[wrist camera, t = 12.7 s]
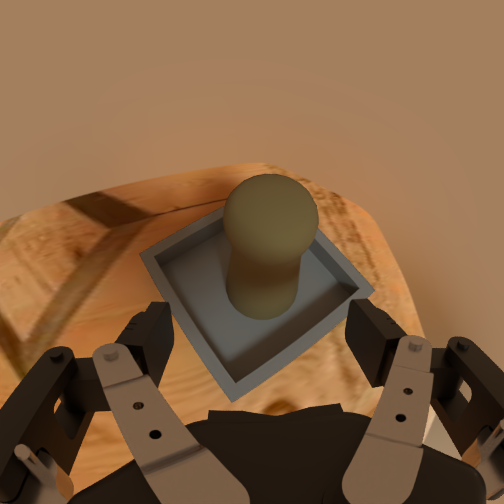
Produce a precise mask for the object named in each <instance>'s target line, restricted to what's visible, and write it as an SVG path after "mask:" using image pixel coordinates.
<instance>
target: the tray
mask: <svg viewBox="0 0 504 504" xmlns="http://www.w3.org/2000/svg"><path fill="white" fill-rule="evenodd" d="M224 207H225V206H223V207H221V208H219V209H217V210H215V211H213V212H212V213H210V214H208V215H206V216H204V217H202V218H201V219H199V220H197V221H195V222H193V223H192V224H190V225H188V226H186V227H184V228H183V229H181V230H179V231H177V232H176V233H174V234H172V235H170V236H169V237H167V238H165V239H163V240H162V241H160V242H158V243H157V244H155V245H153V246H151V247H150V248H148V249H146V250H145V251H143V252H141V253H140V254H139V255H140V256H141V258H142V260H143V262H144V264H145V266H146V268H147V270H148V272H149V273H150V275H151V277H152V279H153V281H154V283H155V284H156V286H157V288H158V290H159V292H160V293H161V295H162V297H163V299H164V300H165V302H169V304H170V308H171V312H172V314H173V316H174V317H175V319H176V321H177V322H178V324H179V325H180V327H181V329H182V330H183V332H184V334H185V335H186V337H187V338H188V340H189V341H190V343H191V345H192V346H193V348H194V349H195V351H196V352H197V354H198V355H199V357H200V358H201V360H202V361H203V363H204V364H205V366H206V367H207V369H208V370H209V371H210V373H211V374H212V376H213V377H214V379H215V380H216V381H217V383H218V384H219V386H220V387H221V388H222V390H223V391H224V393H225V394H226V395H227V397H228V398H229V399H230V401H231V402H234V401H236V400H237V399H239V398H241V397H242V396H244V395H245V394H247V393H248V392H250V391H251V390H253V389H254V388H256V387H257V386H258V385H260V384H261V383H263V382H264V381H266V380H267V379H268V378H270V377H271V376H273V375H274V374H275V373H277V372H278V371H280V370H281V369H282V368H284V367H285V366H286V365H288V364H289V363H290V362H292V361H293V360H294V359H296V358H297V357H298V356H300V355H301V354H302V353H304V352H305V351H306V350H307V349H309V348H310V347H311V346H312V345H314V344H315V343H316V342H317V341H319V340H320V339H321V338H322V337H324V336H325V335H326V334H327V333H328V332H330V331H331V330H332V329H333V328H334V327H336V326H337V325H338V324H339V323H340V322H341V321H343V320H344V319H345V318H346V317H347V315H348V309H349V303H350V301H351V300H352V299H365V298H368V297H369V296H370V295H371V294H372V293H373V292H374V291H375V289H374V288H373V287H372V286H371V285H370V284H369V282H368V281H367V280H366V279H365V278H364V277H363V276H362V275H361V273H360V272H359V271H358V270H357V269H356V268H355V267H354V266H353V265H352V264H351V262H350V261H349V260H348V259H347V258H346V257H345V256H344V255H343V254H342V253H341V252H340V251H339V249H338V248H337V247H336V246H335V245H334V244H333V243H332V242H331V241H330V240H329V239H328V238H327V237H326V236H325V235H324V234H323V233H322V232H321V231H320V229H319V228H317V232H316V236H315V238H314V241H313V242H312V244H311V245H310V246H309V248H308V249H307V250H306V252H305V253H304V254H302V255H301V263H300V273H299V283H298V292H297V295H296V298H295V301H294V303H293V304H292V306H291V307H290V308H289V310H288V311H286V312H285V313H283V314H282V315H281V316H279V317H276V318H273V319H269V320H255V319H252V318H249V317H246V316H244V315H243V314H241V313H240V312H238V311H237V310H236V309H235V308H234V307H233V305H232V304H231V302H230V301H229V299H228V295H227V292H226V279H227V273H228V267H229V261H230V255H231V250H232V245H231V244H230V242H229V241H228V239H227V236H226V233H225V230H224V226H223V213H224Z"/></svg>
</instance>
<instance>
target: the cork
mask: <svg viewBox="0 0 504 504" xmlns="http://www.w3.org/2000/svg"><path fill="white" fill-rule="evenodd" d="M318 224H319V219H318V211H317V205H316V203H315V202H314V200H313V198H312V196H311V195H310V193H309V191H308V190H307V189H306V188H305V187H304V186H302V185H301V184H300V183H299V182H297V181H295V180H293V179H291V178H289V177H286V176H282V175H278V174H262V175H257V176H253V177H251V178H249V179H246V180H244V181H243V182H242V183H241V184H239V185H238V186H237V187H236V188H235V189H234V190H233V191H232V192H231V193H230V195H229V197H228V199H227V201H226V203H225V207H224V213H223V226H224V230H225V233H226V236H227V239H228V241H229V242H230V244H231V245H232V250H231V255H230V261H229V267H228V273H227V279H226V292H227V295H228V299H229V301H230V302H231V304H232V305H233V307H234V308H235V309H236V310H237V311H238V312H240V313H241V314H243V315H244V316H246V317H249V318H252V319H255V320H269V319H273V318H276V317H279V316H281V315H282V314H283V313H285V312H286V311H288V310H289V308H290V307H291V306H292V304H293V303H294V301H295V298H296V295H297V292H298V283H299V273H300V263H301V255H302V254H304V253H305V252H306V250H307V249H308V248H309V246H310V245H311V244H312V242H313V241H314V238H315V236H316V232H317V228H318Z"/></svg>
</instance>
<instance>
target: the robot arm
mask: <svg viewBox="0 0 504 504" xmlns="http://www.w3.org/2000/svg"><path fill="white" fill-rule="evenodd" d="M345 339H346V342H347V344H348V346H349V348H350V349H351V351H352V353H353V355H354V356H355V358H356V360H357V362H358V363H359V365H360V367H361V369H362V370H363V372H364V374H365V376H366V377H367V379H368V381H369V383H370V385H371V386H372V388H375V387H380V386H383V387H384V389H383V392H382V395H381V397H380V400H379V402H378V405H377V407H376V410H375V412H374V415H373V417H372V418H370V417H368V416H365V415H361V414H357V413H351V412H343V410H342V407H341V405H340V403H338V404H331V405H324V406H315V407H308V408H305V409H302V410H298V411H295V412H291V413H287V414H283V415H279V416H272V415H265V414H258V413H252V412H246V411H216V410H209V413H208V419H207V420H201V421H197V422H193V423H190V424H187V425H185V426H184V424H183V423H182V422H181V420H180V419H179V418H178V417H177V415H176V414H175V413H174V411H173V410H172V408H171V407H170V406H169V404H168V403H167V401H166V400H165V399H164V397H163V396H162V394H161V393H160V391H159V390H158V386H159V383H160V381H161V378H162V375H163V372H164V370H165V367H166V364H167V362H168V359H169V356H170V354H171V351H172V348H173V345H174V330H173V323H172V316H171V308H170V304H169V302H151V304H150V305H149V306H148V308H147V309H146V311H145V312H140V313H138V314H137V315H135V316H133V317H132V319H131V320H130V321H129V323H128V324H127V326H126V327H125V329H124V330H123V331H122V333H121V334H120V336H119V337H118V338H117V340H116V341H115V343H110V344H105V345H103V346H100V347H99V348H97V349H96V350H95V351H94V353H93V356H92V357H90V358H75V357H74V354H73V351H72V350H71V349H70V348H68V347H64V346H59V347H54V348H51V349H49V350H47V351H46V352H45V353H44V354H43V355H42V356H41V357H40V359H39V360H38V361H37V362H36V363H35V365H34V366H33V367H32V368H31V370H30V371H29V372H28V373H27V375H26V376H25V377H24V378H23V380H22V381H21V382H20V384H19V385H18V386H17V387H16V389H15V390H14V391H13V393H12V394H11V395H10V397H9V398H8V400H7V401H6V402H5V404H4V405H3V406H2V408H1V409H0V504H486V500H495V499H497V498H499V497H500V496H502V495H503V494H504V372H503V371H502V370H501V369H500V368H499V367H498V366H497V365H496V364H495V363H494V362H493V361H492V360H491V359H490V358H489V357H488V356H487V355H486V354H485V353H484V352H483V351H482V350H481V349H480V348H479V347H478V346H477V345H476V344H474V342H472V341H471V340H469V339H467V338H464V337H452V338H450V340H449V341H448V344H447V347H446V348H432V345H431V343H430V342H429V341H428V340H426V339H425V338H422V337H420V336H415V335H407V334H406V333H405V332H404V331H403V330H402V328H401V327H400V326H399V325H398V324H396V322H395V321H394V320H393V319H392V318H391V317H390V316H389V315H388V314H387V313H386V312H385V311H383V310H381V309H379V308H376V307H375V306H374V305H373V304H372V303H371V302H370V301H369V300H368V299H367V298H365V299H352V300H351V301H350V303H349V309H348V315H347V321H346V327H345ZM463 380H464V381H465V382H466V383H467V384H468V385H469V387H470V388H471V391H472V397H471V400H470V402H469V403H468V401H467V400H466V399H465V397H464V396H463V395H462V393H461V392H460V391H459V388H460V386H461V385H462V383H463ZM58 398H59V399H60V400H61V403H60V405H59V406H58V408H57V410H56V412H55V414H54V406H55V403H56V401H57V400H58ZM430 404H431V406H432V407H433V409H434V411H435V412H436V414H437V415H438V417H439V419H440V421H441V422H442V424H443V426H444V427H445V429H446V431H447V432H448V434H449V436H450V438H451V439H452V441H453V443H454V445H455V447H456V448H457V450H458V452H459V454H460V456H461V457H462V460H461V461H460V460H458V459H456V458H453V457H451V456H448V455H446V454H444V453H441V452H439V451H437V450H435V449H433V448H431V447H428V446H426V445H424V444H422V441H423V437H424V432H425V427H426V422H427V417H428V412H429V406H430ZM98 411H112V413H113V415H114V418H115V420H116V422H117V424H118V426H119V429H120V431H121V433H122V435H123V437H124V439H125V441H126V443H127V445H128V447H129V449H130V451H131V453H132V455H133V457H134V458H135V459H133V460H132V461H130V462H129V463H127V464H126V465H124V466H122V467H121V468H119V469H118V470H116V471H114V472H113V473H111V474H110V475H108V476H106V477H105V478H103V479H101V480H99V481H98V482H96V483H94V484H92V485H91V486H89V487H87V488H85V489H84V490H82V491H80V492H78V493H77V494H75V495H73V492H74V485H73V482H72V480H71V478H70V477H69V475H70V472H71V469H72V467H73V464H74V461H75V459H76V456H77V454H78V451H79V449H80V446H81V444H82V441H83V439H84V436H85V434H86V432H87V429H88V427H89V425H90V422H91V420H92V418H93V415H94V413H95V412H98Z"/></svg>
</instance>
